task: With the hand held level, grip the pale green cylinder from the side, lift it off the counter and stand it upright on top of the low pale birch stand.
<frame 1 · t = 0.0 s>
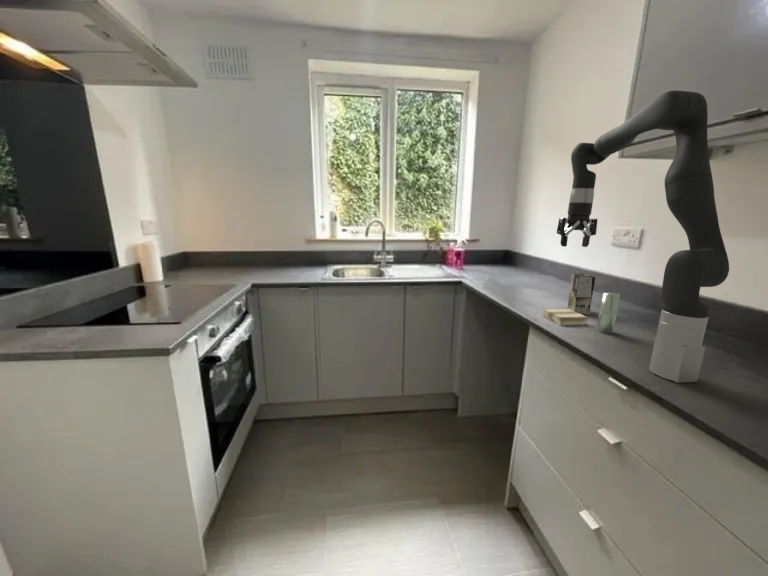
hand: (574, 246, 130), 29 cm above the countertop, tool pointing down, fingers open, 8 cm apart
coffee box: (577, 311, 151), on the countertop
pale green cylinder: (604, 331, 126), on the countertop
shelf stand: (564, 320, 137), on the countertop
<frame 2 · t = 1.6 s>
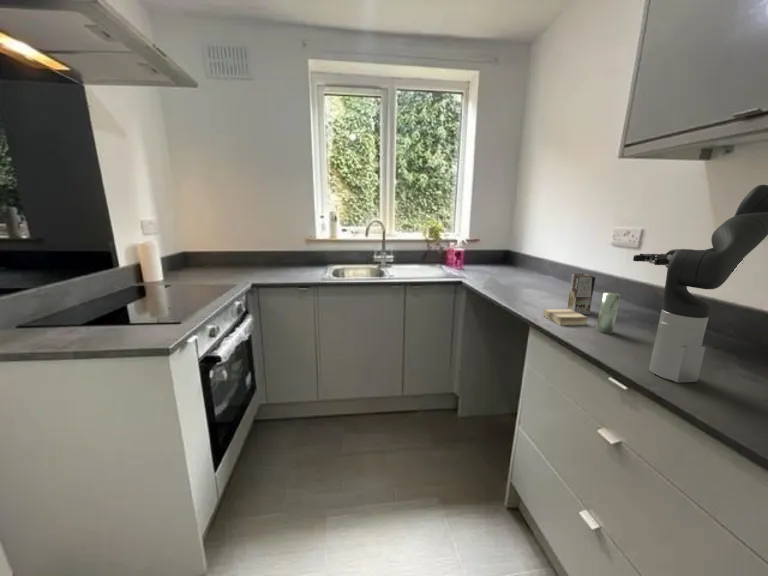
hand: (644, 259, 122), 26 cm above the countertop, tool horizontal, fingers open, 8 cm apart
nothing on the countertop moved.
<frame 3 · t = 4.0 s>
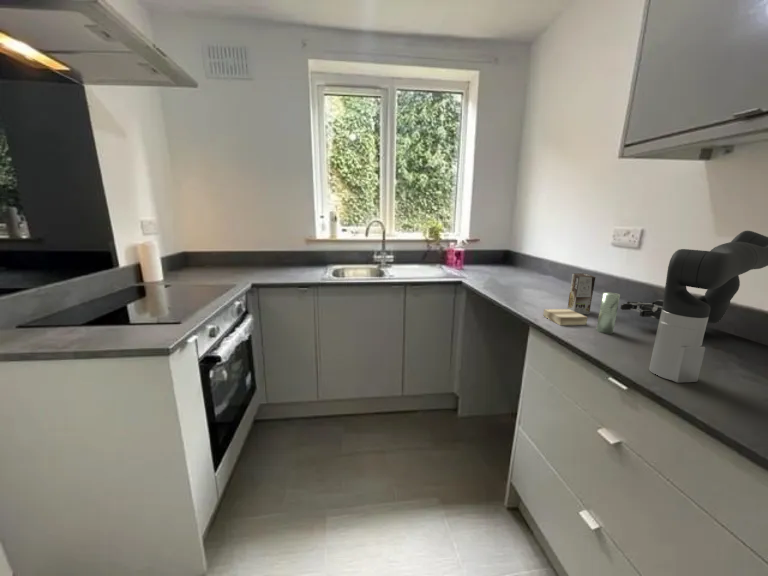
hand: (630, 310, 125), 8 cm above the countertop, tool horizontal, fingers open, 8 cm apart
nothing on the countertop moved.
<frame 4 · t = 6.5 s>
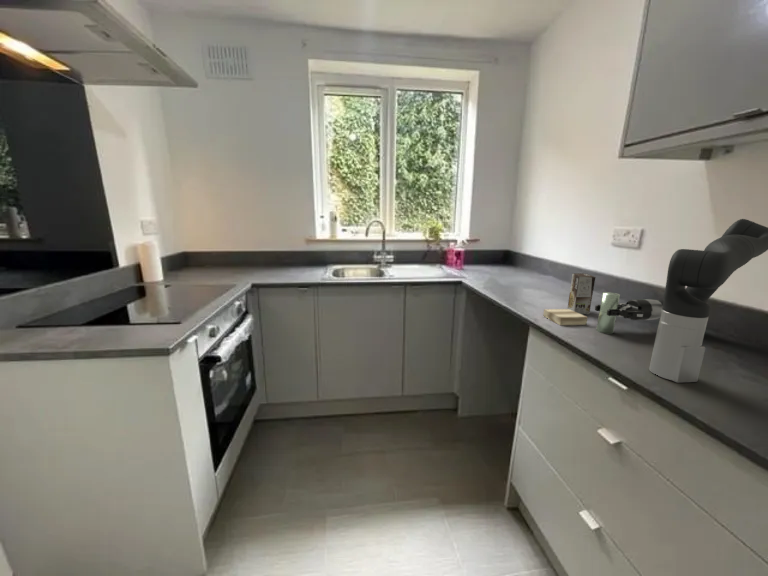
hand: (602, 310, 124), 8 cm above the countertop, tool horizontal, fingers closed on pale green cylinder, 5 cm apart
pale green cylinder: (604, 331, 126), on the countertop, touching gripper
everything else where it was.
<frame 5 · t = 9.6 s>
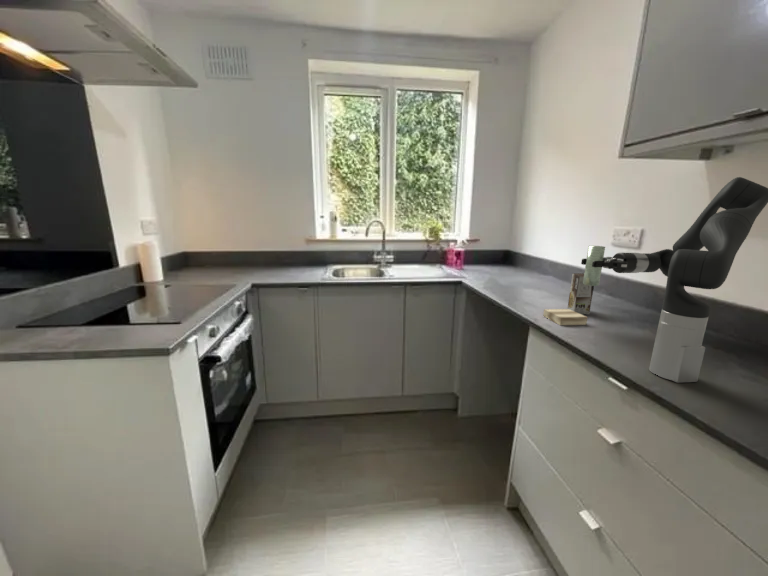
hand: (587, 262, 126), 24 cm above the countertop, tool horizontal, fingers closed on pale green cylinder, 5 cm apart
pale green cylinder: (590, 284, 129), point 16 cm above the countertop, touching gripper
everything else where it was.
when the fingers open (12 cm above the countertop, at t = 12.9 s): pale green cylinder drops 1 cm, resting on shelf stand.
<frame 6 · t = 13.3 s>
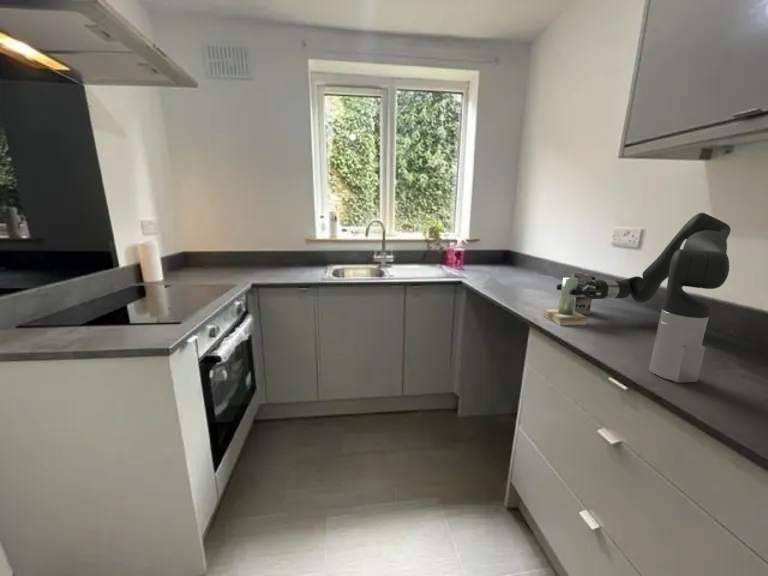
hand: (564, 289, 134), 12 cm above the countertop, tool horizontal, fingers open, 8 cm apart
pale green cylinder: (565, 313, 137), point 3 cm above the countertop, touching shelf stand
everything else where it was.
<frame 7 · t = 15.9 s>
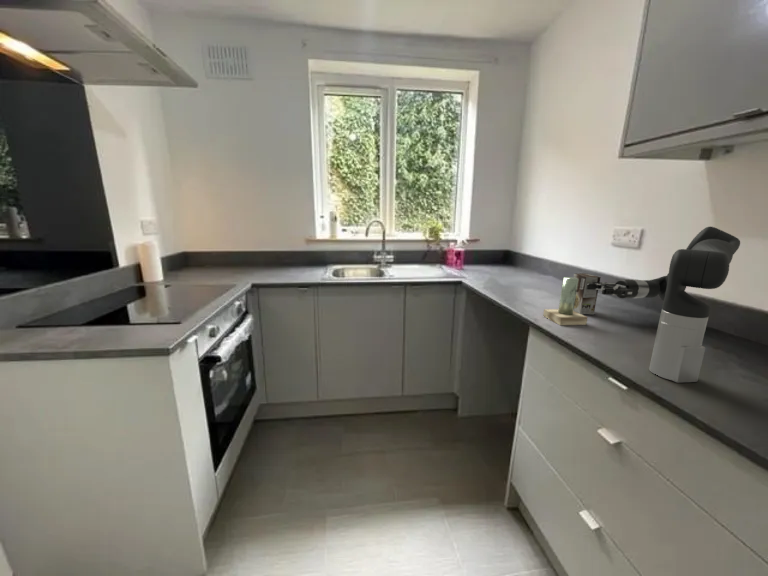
hand: (594, 289, 136), 13 cm above the countertop, tool horizontal, fingers open, 8 cm apart
coffee box: (580, 311, 151), on the countertop
everything else where it was.
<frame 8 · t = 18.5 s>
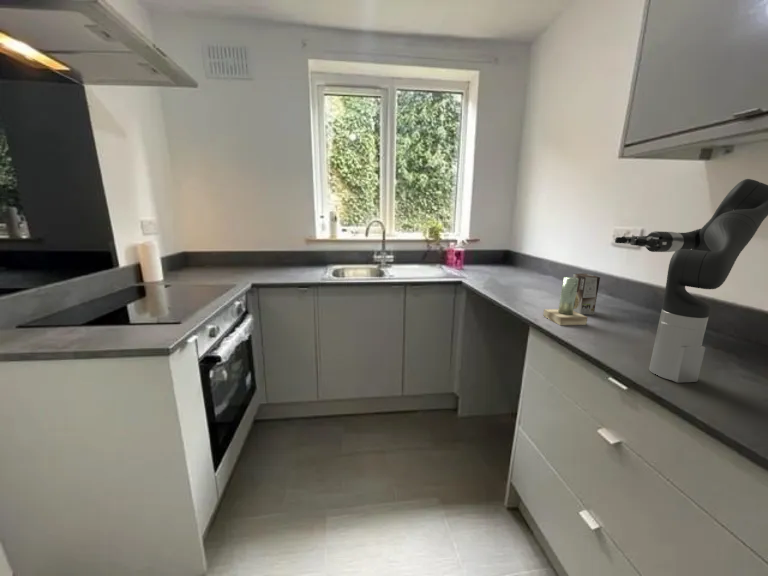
hand: (625, 241, 127), 32 cm above the countertop, tool horizontal, fingers open, 8 cm apart
nothing on the countertop moved.
at the end: pale green cylinder inside the target area on the shelf stand (0.1 cm from its centre), point 3.0 cm above the shelf stand's base; pale green cylinder tilted 1°; the gripper is holding nothing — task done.
